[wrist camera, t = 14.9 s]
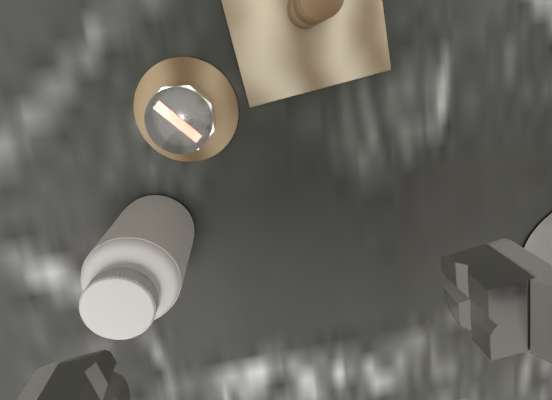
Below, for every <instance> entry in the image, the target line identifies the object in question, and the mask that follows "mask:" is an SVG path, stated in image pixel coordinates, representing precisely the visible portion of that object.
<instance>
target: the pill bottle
mask: <svg viewBox="0 0 552 400" xmlns="http://www.w3.org/2000/svg"><path fill="white" fill-rule="evenodd" d="M193 240H194V223H193V220H192V217H191V215H190V213H189V212H188V211H187V209H186V208H185V207H184V206H183V205H182V204H180V203H179V202H178V201H176V200H174V199H172V198H169V197H166V196H161V195H149V196H145V197H141V198H139V199H137V200H135V201H134V202H132V203H131V204H130V205H128V206H127V207H126V208H125V209H124V211H123V212H122V213H121V214H120V216H119V217H118V218H117V219H116V221H115V222H114V223H113V224H112V226H111V227H110V228H109V230H108V231H107V232H106V233H105V235H104V236H103V237H102V238H101V240H100V241H99V242H98V243H97V245H96V246H95V247H94V248H93V250H92V251H91V252H90V254H89V255H88V256H87V258H86V260H85V262H84V264H83V267H82V271H81V288H82V292H83V293H82V295H81V298H80V301H79V303H80V304H79V310H80V315H81V317H82V320H83V321H84V323H85V324H86V325H87V327H88V328H89V329H90V330H92V331H93V332H94V333H96V334H98V335H100V336H102V337H105V338H108V339H114V340H124V339H130V338H133V337H136V336H138V335H140V334H142V333H143V332H145V331H146V330H147V329H148V327H150V325H151V324H152V322H153V320H155V319H157V318H159V317H160V316H162V315H163V314H165V313H166V312H167V311H168V310H169V309H170V308H171V307H172V306H173V305H174V303H175V302H176V300H177V298H178V296H179V294H180V291H181V287H182V283H183V280H184V276H185V272H186V268H187V264H188V260H189V256H190V252H191V248H192V244H193Z"/></svg>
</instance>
